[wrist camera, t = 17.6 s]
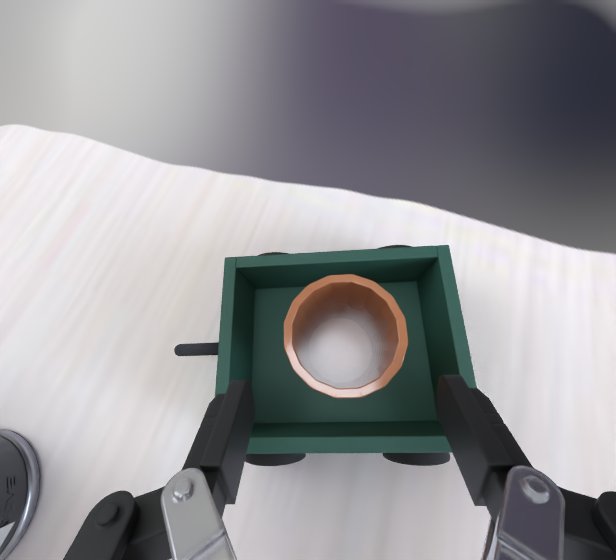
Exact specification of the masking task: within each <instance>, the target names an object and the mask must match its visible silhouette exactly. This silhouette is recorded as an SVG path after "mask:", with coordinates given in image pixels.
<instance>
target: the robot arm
mask: <svg viewBox="0 0 616 560" xmlns="http://www.w3.org/2000/svg"><path fill="white" fill-rule="evenodd" d="M435 407H436V412H437V416H438V418H439V421H440V423H441V426H442V428H443V430H444V433H445V435H446V438H447V440H448V442H449V445H450V447H451V450H452V452H453V454H454V457H455V459H456V462H457V464H458V466H459V469H460V471H461V474H462V476H463V478H464V481H465V483H466V486H467V488H468V490H469V493H470V495H471V498H472V500H473V502H474V505H475V506H487V509H488V511H489V513H490V515H491V518H490V521H489V525H488V530H487V534H486V539H485V543H484V548H483V552H482V557H481V560H616V492H613V491H609V492H604V493H602V494H601V495H600V496H599V498H598V499H595V498H592V497H588V496H585V495H582V494H578V493H575V492H572V491H568V490H566V489H563V488H560V487H558V486H557V485H556V484H555V483H554V482H553V481H552V480H551V479H550V478H549V477H547V476H546V475H545V474H543V473H542V472H540V471H538V470H536V469H534V468H533V466H532V465H531V464H530V462H529V461H528V459H527V457H526V456H525V454H524V453H523V451H522V450H521V448H520V447H519V445H518V443H517V442H516V440H515V439H514V437H513V436H512V434H511V432H510V431H509V429H508V428H507V426H506V425H505V424H504V423H503V420H502V418H501V417H500V415H499V414H498V413H497V410H496V409H495V407H494V406H493V404H492V403H491V401H490V400H489V398H488V397H487V396H485V395H484V394H483V393H482V392H481V391H480V390H478V389H477V388H469V387H468V385H467V383H466V382H465V380H464V378H463V377H462V376H461V375H441V376H440V377H439V382H438V388H437V393H436V399H435ZM254 418H255V403H254V399H253V394H252V390H251V385H250V382H249V380H231V381H230V383H229V385H228V388H227V391H226V393H224V394H217V396H216V397H215V398H214V399H213V400H212V401H211V402H210V404H209V406H208V408H207V411H206V413H205V415H204V418H203V420H202V423H201V425H200V428H199V430H198V433H197V435H196V437H195V440H194V442H193V445H192V447H191V450H190V452H189V454H188V457H187V459H186V462H185V464H184V466H183V468H182V470H181V471H180V472H178V473H177V474H176V475H174V476H173V477H172V478H171V479H170V480H169V481H168V483H167V484H166V486H164V487H162V488H160V489H158V490H155V491H152V492H149V493H146V494H143V495H141V496H138V497H135V498H134V497H133V496H132V494H131V493H129V492H127V491H117V492H114V493H112V494H110V495H108V496H106V497H105V498H104V499H102V500H101V501H100V502H99V503H98V504H97V505H96V506H95V507H94V508H93V509H92V510H91V512H90V513H89V515H88V516H87V518H86V520H85V521H84V523H83V525H82V527H81V529H80V530H79V532H78V534H77V536H76V538H75V539H74V541H73V543H72V545H71V546H70V548H69V550H68V552H67V554H66V555H65V557H64V559H63V560H169V559H171V558H172V560H237V558H236V556H235V553H234V550H233V548H232V545H231V542H230V539H229V537H228V534H227V531H226V528H225V526H224V523H223V520H222V516H223V512H224V508H225V504H235V501H236V496H237V492H238V488H239V483H240V479H241V475H242V470H243V466H244V462H245V457H246V453H247V449H248V444H249V440H250V436H251V431H252V427H253V423H254ZM39 480H40V478H39V468H38V463H37V459H36V456H35V454H34V452H33V450H32V448H31V446H30V445H29V444H28V443H27V441H26V440H25V439H23V438H22V437H21V436H19V435H18V434H16V433H14V432H11V431H7V430H0V560H4V559H5V558H6V557H7V556H8V555H9V554H10V552H11V551H12V550H13V549H14V548H15V546H16V545H17V544H18V542H19V541H20V539H21V538H22V536H23V534H24V533H25V531H26V529H27V527H28V525H29V523H30V521H31V518H32V516H33V513H34V510H35V507H36V503H37V499H38V493H39Z"/></svg>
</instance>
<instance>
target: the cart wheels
mask: <svg viewBox="0 0 616 560" xmlns="http://www.w3.org/2000/svg"><path fill="white" fill-rule="evenodd" d="M403 247H411V246H406V245H392V246H385V247H381V248H378V249H386V248H403ZM281 254H288V253H280V252H272V253H264V254H260V255H258V256H263V255H281ZM218 348H219V343H197V344H179V345H177V346H176V347H175V350H174V351H175V354H176V355H178V356H199V355H218ZM305 456H306V453H270V454H246V457H245V461H246V462H247V463H250V464H253V465H259V466H279V465H286V464H291V463H295V462H298V461H300V460H302V459H304V458H305ZM383 456H384V457H385V458H386V459H388V460H390V461H393V462H397V463H401V464H408V465H419V466H429V465H439V464H443V463H446V462H448V461H449V460H450V455H449V452H426V453H383Z"/></svg>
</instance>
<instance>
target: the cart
mask: <svg viewBox="0 0 616 560" xmlns="http://www.w3.org/2000/svg"><path fill="white" fill-rule="evenodd" d="M344 274H353V275H357V276H360V277H363V278H366V279H369V280H372V281H374V282H376V283H377V284H378V285H380V286H381V287H382V288H383V289H384V290H386V291H387V292H388V293H389V294H391V295H392V296H393V297H394V299H395V301H396V303H397V304H398V306H399V308H400V310H401V311H402V313H403V315H404V317H405V320H406V328H407V335H408V346H407V350H406V353H405V357H404V360H403V364H402V366H401V368H400V370H399V371H398V372H397V373H396V374H395V376H394V377H393V378H392V379H391V380H390V382H389V383H388V384H387V385H386V386H385V387H384V388H382V389H380V390H377V391H375V392H373V393H371V394H369V395H367V396H365V397H361V398H333V397H331V396H328V395H326V394H323V393H321V392H319V391H316V390H314V389H312V388H310V387H309V386H308V385H307V384H306V383H305V382H304V381H303V380H302V379H301V377H300V376H299V375H298V374H297V373H296V372H295V371H294V370H293V368H292V366H291V363H290V361H289V358H288V356H287V354H286V351H285V349H284V321H285V318H286V316H287V314H288V311H289V309H290V306H291V304H292V302H293V300H294V299H295V298H296V297H297V296H298V295H299V294H300V293H301V292H302V291H303V290H304V289H305V288H306V287H307V286H308V285H309V284H311V283H313V282H315V281H318V280H320V279H322V278H324V277H326V276H330V275H344ZM441 375H461V376H462V377H463V378H464V380H465V382H466V383H467V385H468V387H469V388H477V387H476V382H475V377H474V372H473V367H472V362H471V357H470V351H469V346H468V341H467V336H466V331H465V326H464V321H463V316H462V311H461V305H460V300H459V295H458V290H457V285H456V280H455V275H454V270H453V265H452V260H451V254H450V249H449V245H440V246H421V247H403V248H386V249H368V250H351V251H333V252H316V253H298V254H281V255H263V256H246V257H237V258H236V257H228V258H225V264H224V278H223V292H222V306H221V320H220V334H219V348H218V362H217V376H216V390H215V397H216V396H217V394H224V393H226V391H227V388H228V385H229V383H230V381H231V380H249V382H250V385H251V390H252V394H253V399H254V403H255V418H254V423H253V427H252V431H251V436H250V440H249V444H248V449H247V453H246V454H270V453H426V452H452V450H451V447H450V445H449V442H448V440H447V438H446V435H445V433H444V430H443V428H442V426H441V423H440V421H439V418H438V416H437V412H436V407H435V399H436V393H437V388H438V382H439V377H440V376H441Z"/></svg>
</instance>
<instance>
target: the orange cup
mask: <svg viewBox="0 0 616 560" xmlns="http://www.w3.org/2000/svg"><path fill="white" fill-rule="evenodd" d="M407 346H408V335H407V328H406V320H405V317H404V315H403V313H402V311H401V310H400V308H399V306H398V304H397V303H396V301H395V299H394V297H393V296H392V295H391V294H389V293H388V292H387V291H386V290H384V289H383V288H382V287H381V286H380V285H378V284H377V283H376V282H374V281H372V280H369V279H366V278H363V277H360V276H357V275H353V274H344V275H330V276H326V277H324V278H322V279H320V280H318V281H315V282H313V283H311V284H309V285H308V286H307V287H306V288H305V289H304V290H303V291H302V292H301V293H300V294H299V295H298V296H297V297H296V298H295V299H294V300H293V302H292V304H291V306H290V309H289V311H288V314H287V316H286V318H285V321H284V349H285V351H286V354H287V356H288V358H289V361H290V363H291V366H292V368H293V370H294V371H295V372H296V373H297V374H298V375H299V376H300V377H301V379H302V380H303V381H304V382H305V383H306V384H307V385H308V386H309V387H310V388H312V389H314V390H316V391H319V392H321V393H323V394H326V395H328V396H331V397H333V398H361V397H365V396H367V395H369V394H371V393H373V392H375V391H377V390H380V389H382V388H384V387H385V386H386V385H387V384H388V383H389V382H390V380H391V379H392V378H393V377H394V376H395V374H396V373H397V372H398V371H399V370H400V368H401V366H402V364H403V360H404V357H405V353H406V350H407Z"/></svg>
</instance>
